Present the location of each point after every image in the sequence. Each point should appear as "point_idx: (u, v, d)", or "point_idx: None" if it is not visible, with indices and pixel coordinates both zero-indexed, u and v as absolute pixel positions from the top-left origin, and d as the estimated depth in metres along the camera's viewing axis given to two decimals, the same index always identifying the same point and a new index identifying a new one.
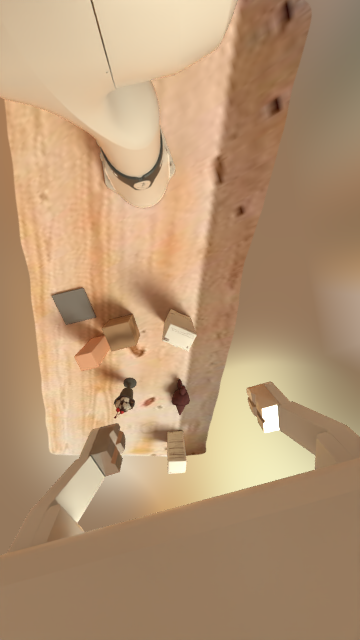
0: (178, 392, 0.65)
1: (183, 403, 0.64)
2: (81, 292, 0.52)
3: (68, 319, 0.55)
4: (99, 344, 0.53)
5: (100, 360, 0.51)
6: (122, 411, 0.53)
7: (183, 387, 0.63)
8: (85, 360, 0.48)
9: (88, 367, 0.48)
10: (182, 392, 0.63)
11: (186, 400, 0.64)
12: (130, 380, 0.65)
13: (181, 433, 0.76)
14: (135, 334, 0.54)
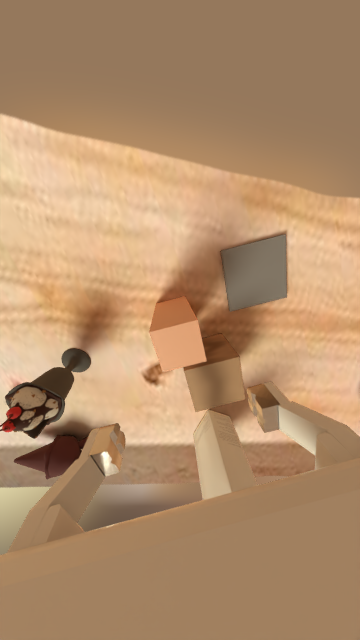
0: (75, 452, 0.33)
1: (53, 475, 0.31)
2: (279, 294, 0.28)
3: (232, 258, 0.26)
4: None
5: None
6: (12, 428, 0.18)
7: None
8: (184, 345, 0.17)
9: (161, 350, 0.17)
10: None
11: None
12: (85, 362, 0.30)
13: None
14: None
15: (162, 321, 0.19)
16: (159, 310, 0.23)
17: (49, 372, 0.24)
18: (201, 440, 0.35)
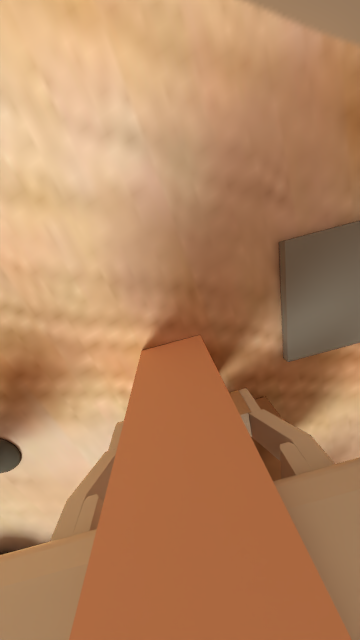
0: None
1: None
2: None
3: (306, 258, 0.12)
4: None
5: None
6: None
7: None
8: None
9: None
10: None
11: None
12: (8, 459, 0.16)
13: None
14: None
15: (142, 516, 0.05)
16: (144, 391, 0.09)
17: None
18: None
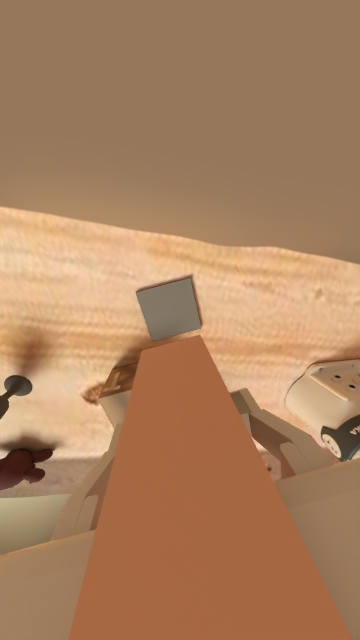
0: (26, 466, 0.37)
1: (3, 487, 0.34)
2: (194, 326, 0.32)
3: (146, 298, 0.30)
4: None
5: None
6: None
7: (41, 477, 0.36)
8: None
9: None
10: (29, 479, 0.36)
11: None
12: (26, 387, 0.34)
13: None
14: None
15: (142, 518, 0.04)
16: (143, 391, 0.09)
17: None
18: None
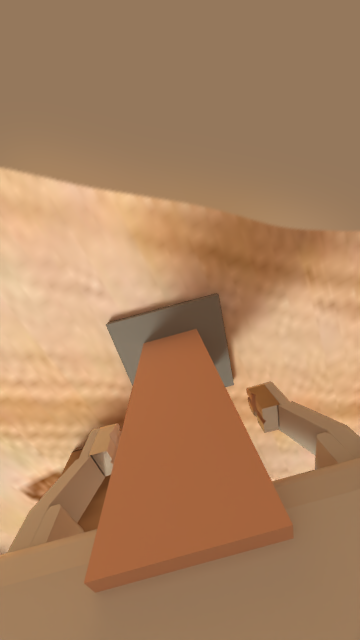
0: None
1: None
2: None
3: (129, 335, 0.15)
4: None
5: None
6: None
7: None
8: None
9: None
10: None
11: None
12: None
13: None
14: None
15: (147, 459, 0.06)
16: (146, 375, 0.10)
17: None
18: None
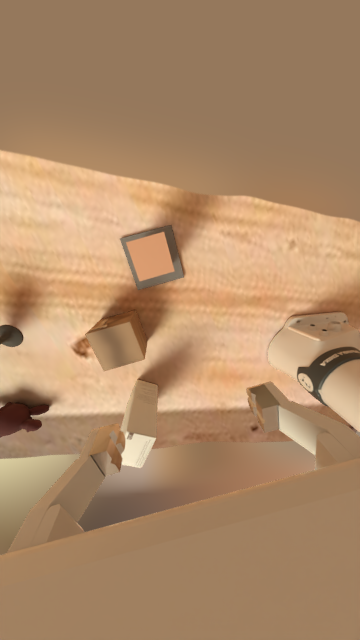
0: (23, 416, 0.38)
1: (0, 434, 0.36)
2: (177, 274, 0.35)
3: None
4: None
5: None
6: None
7: (38, 427, 0.38)
8: (155, 255, 0.22)
9: (136, 259, 0.22)
10: (26, 427, 0.37)
11: (8, 434, 0.37)
12: (17, 337, 0.35)
13: None
14: None
15: None
16: None
17: None
18: (128, 404, 0.40)
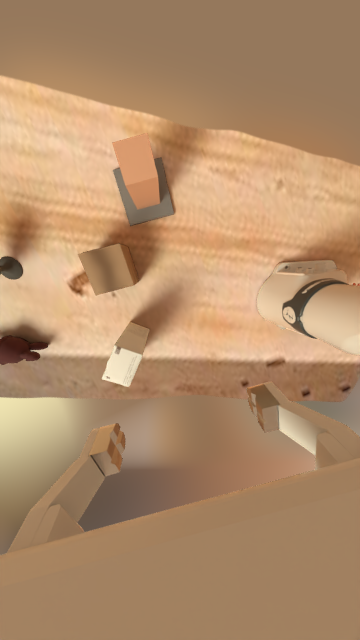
0: (23, 347, 0.40)
1: (2, 359, 0.38)
2: (167, 210, 0.36)
3: None
4: (156, 192, 0.30)
5: (132, 191, 0.27)
6: None
7: (36, 357, 0.40)
8: (139, 158, 0.24)
9: (122, 162, 0.24)
10: (26, 356, 0.39)
11: (9, 362, 0.40)
12: (17, 269, 0.38)
13: None
14: None
15: None
16: None
17: None
18: None
